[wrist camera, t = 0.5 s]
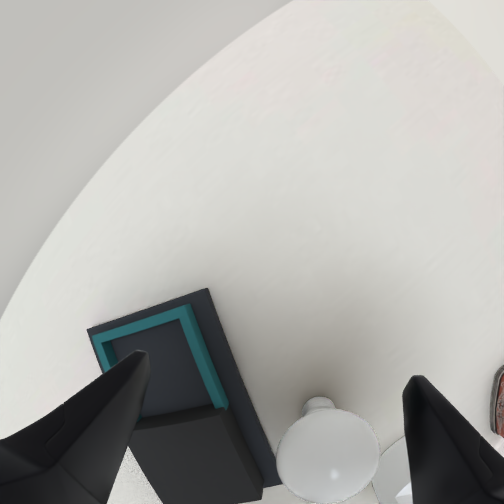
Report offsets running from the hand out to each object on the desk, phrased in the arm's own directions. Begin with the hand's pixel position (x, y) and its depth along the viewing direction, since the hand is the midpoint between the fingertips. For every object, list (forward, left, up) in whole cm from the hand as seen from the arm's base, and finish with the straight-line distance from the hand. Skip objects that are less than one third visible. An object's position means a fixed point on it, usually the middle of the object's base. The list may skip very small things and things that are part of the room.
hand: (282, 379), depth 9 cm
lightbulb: (-8, 0, -15) cm, 17 cm away
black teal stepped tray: (-5, +11, -15) cm, 19 cm away
